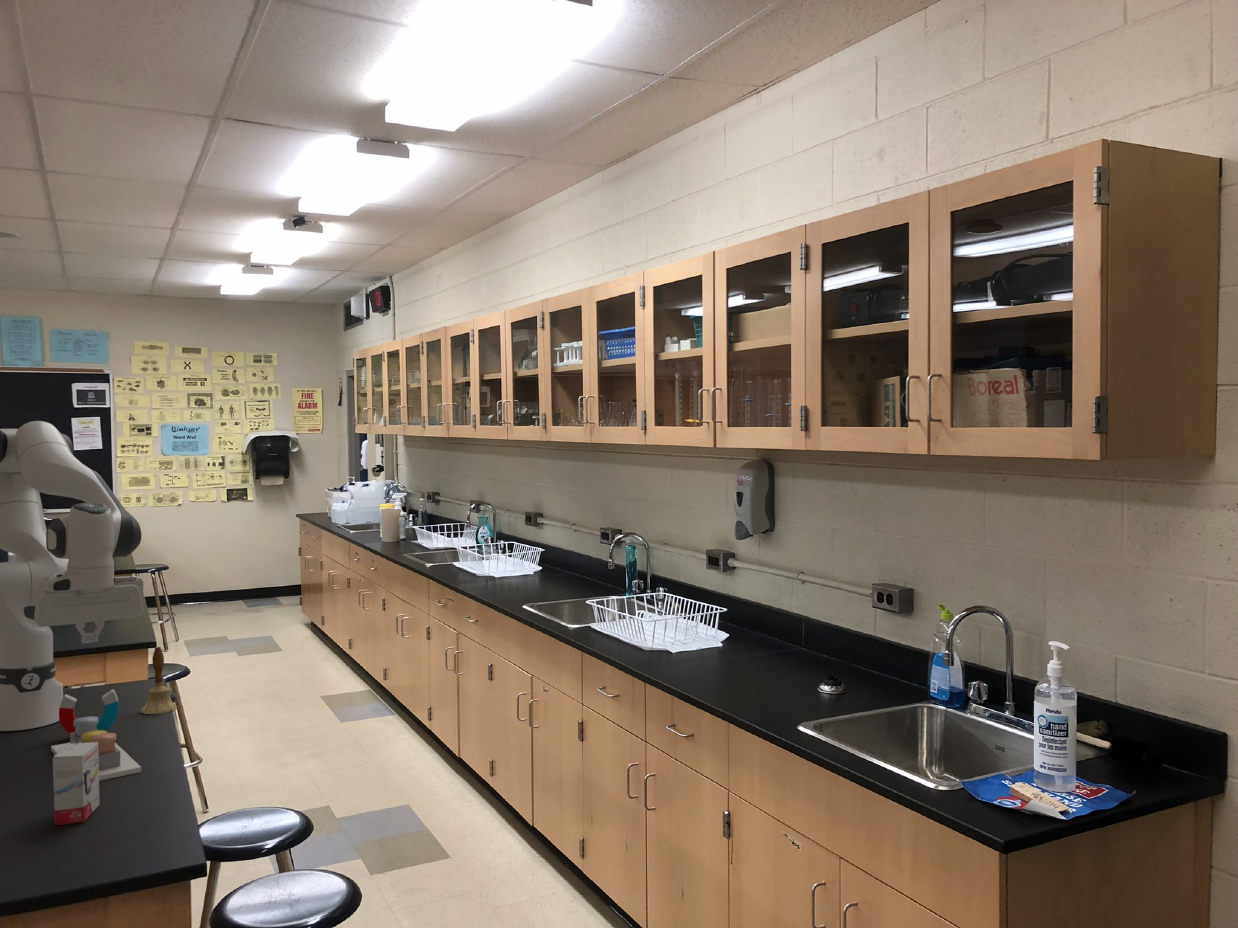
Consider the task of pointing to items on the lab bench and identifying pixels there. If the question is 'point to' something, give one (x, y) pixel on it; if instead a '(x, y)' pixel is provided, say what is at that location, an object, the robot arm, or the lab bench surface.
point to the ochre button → (89, 734)
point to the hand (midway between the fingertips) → (89, 642)
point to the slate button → (85, 725)
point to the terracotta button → (104, 742)
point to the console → (107, 760)
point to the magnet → (103, 723)
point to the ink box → (76, 782)
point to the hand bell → (158, 689)
